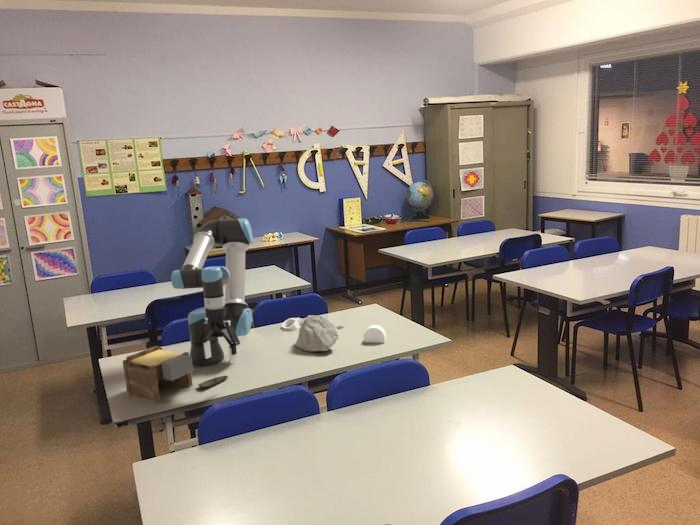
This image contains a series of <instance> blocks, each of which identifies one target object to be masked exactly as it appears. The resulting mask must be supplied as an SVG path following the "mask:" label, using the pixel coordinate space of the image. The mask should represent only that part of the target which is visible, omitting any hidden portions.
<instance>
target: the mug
mask: <svg viewBox="0 0 700 525" xmlns="http://www.w3.org/2000/svg"><path fill="white" fill-rule="evenodd" d="M304 320H305V318H301V317H291V318H288V319H286V320H285V321H283V322H282V325H281V327H282V329H283V330H285V331H295V330H297V329H300V328H301V325H302V323H303V321H304ZM299 321H300V323H299ZM300 324H301V325H300Z"/></svg>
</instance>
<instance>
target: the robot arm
mask: <svg viewBox="0 0 700 525" xmlns="http://www.w3.org/2000/svg"><path fill="white" fill-rule="evenodd" d="M192 241H193V242H192V243H193V244H192V245H191V248H190V250H189V252H188V254H187V256H186V258H185V261H184V263H183V265H182V266H181V269H177V270H173V271H172V273H171V276H170V277H171V278H170V281H171V282H170V283H171V286H172V288H174V289H177V290H178V289H179V290H185V289H202V291H203V301H204V302H203V303H204V306H203V307H199V308H196V309H194V310H192V311H191V312H189V313H188V315H187V317H188V318H187V320H188V322H187V324H188V330H189V338H190V349H189V356H192V364H193V367H207V366H214V365H216V364H219V363H221V362H222V361H224V360H225V353H224V352H225V351H224V350H223V348H222V346H221V344H220V342H219V338H224V339H225V341H226V342H227V343H228V345H229V347H228V353H229V354H228V356H229V363H230V364H234V363H236V362H237V346H239V345H240V344H241V341H240V340H239V337H240V336H241V337H244V336H246V335H249V333H250V331H251V328H252V323H253V312H252V309H251V308H249V305H248V303H247V302H246V301H245V298H246V297H245V292H246V251H248V250H249V248H250V245H251V244H253V243H254V242H253V241H254V236H253V230H252V227H251V223H250V222H249V220H248V219H247V218H238V217H237V218H230V219H226V218H225V219H214V220H211V221H208V222H206V223H205V224H203V225H202V226H201V227H199V229H197V231H195V234H194V235H193V238H192ZM215 246H222V249H223V250H224V251H225V266H222V265H220V266H216V265H215V266H212V265H211V266H206V267H204V265H205V262H206V260H207V257H208V255H209V252H210V251H211V250H212V249H213V248H214V247H215ZM203 267H204V268H203Z"/></svg>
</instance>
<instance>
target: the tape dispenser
mask: <svg viewBox="0 0 700 525" xmlns="http://www.w3.org/2000/svg"><path fill="white" fill-rule="evenodd" d="M386 341H387V334H386V331H385V329H384V328H383V327H382V326H381V325H378V324H377V325H376V324H372V325H370V326H369V327H368V328H367V329H366V330H365V332H364V333H363V342H364V343H382V344H383V343H386Z"/></svg>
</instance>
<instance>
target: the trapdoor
mask: <svg viewBox="0 0 700 525" xmlns="http://www.w3.org/2000/svg"><path fill="white" fill-rule="evenodd" d="M131 362H133V363H137V364H142V365H146V366H158V365H160V364H161V365H162V372H163V379H167V380H171V381H173V380H175V379H178V378H180V377H182V376H184V375H186V374H189V373H191V374H192V373H193V372H194V366H193V364H192V356H187V355H182V353H179V352H175V351H169V350H163V349H162V350H156V351H153V352H151V353H148V354H146V355H143V356H141V357H138V358H135V359H133V360H131Z"/></svg>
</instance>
